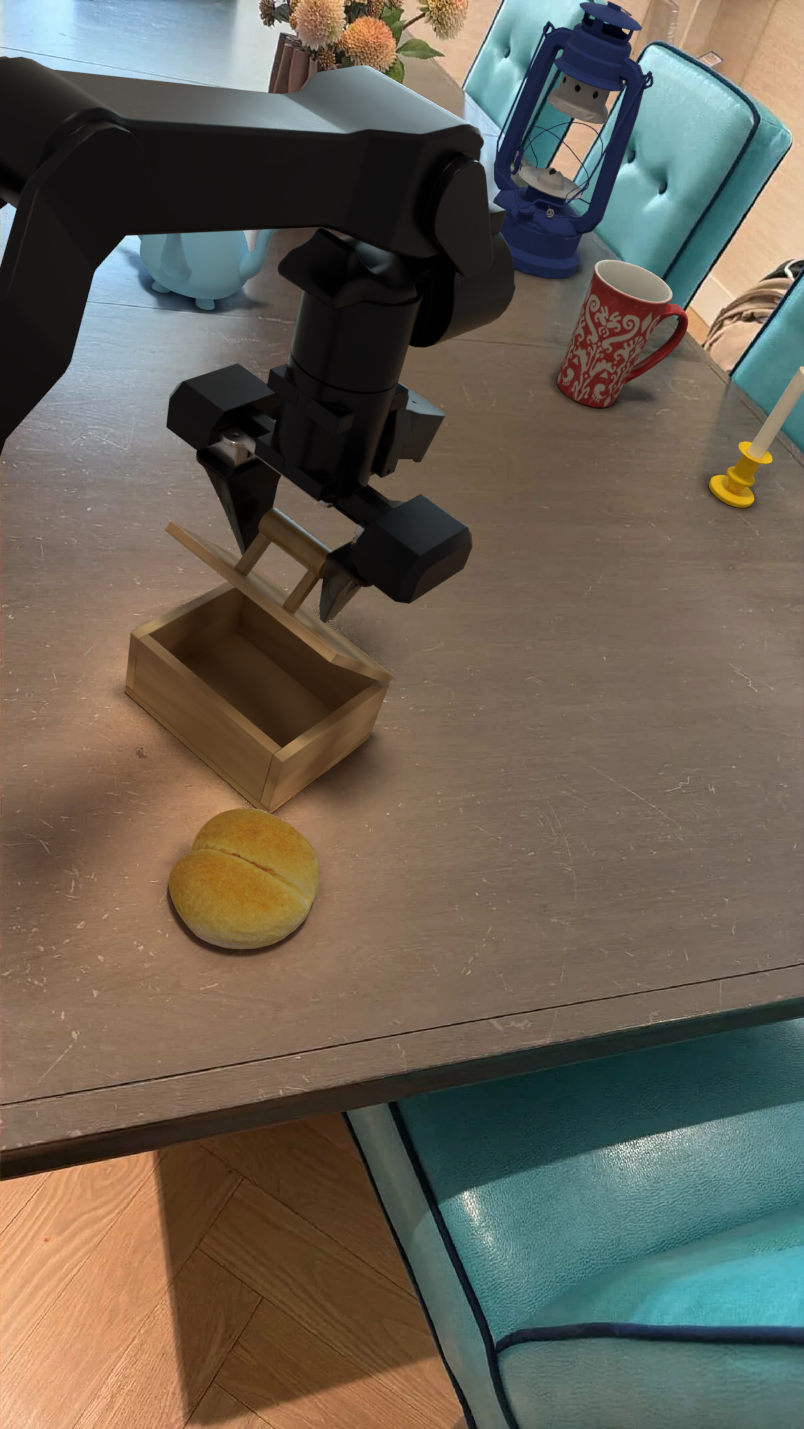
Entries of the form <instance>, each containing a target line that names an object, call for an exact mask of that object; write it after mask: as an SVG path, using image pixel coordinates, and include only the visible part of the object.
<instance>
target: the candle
mask: <svg viewBox="0 0 804 1429" xmlns="http://www.w3.org/2000/svg"><path fill="white" fill-rule="evenodd" d="M803 393H804V366H803V365H802V366H800V367H798V369H797V371H796V373H795V374H794V375H793V377H792V379H791V380H790V382H789V383H788V385H787V386H786V388H785V389H784V391H783V393H782V395H781V396H780V397H779V399H778V400H777V402H776V404H775V406H774V407H773V409H772V410H771V412H770V414H769V415H768V416H767V418H766V420H765V422H764V423H763V425H762V426H761V428H760V430H759V431H758V433H757V435H756V436H755V438H754V439H753V441H745V440H744V441H741V442H739V444H738V450H739V452H740V453H741V457H740V458H738V460H737V462H736V465H732V466H729V467H728V468H727V470H726V472H725V473H726V475H725V474H718V475H714V476H712V477H711V478H710V480H709V481H708V488H709V490H710V492H711V493H712V495H713V496H715V497H716V499H718V500H719V501H721V502H723V503H725V504H727V505H728V506H731V507H734V508H738V509H746V508H749V507H751V506H752V505H753V503H754V501H755V495H754V493H753V490H751V487H752V486H754V484H755V483H756V479H755V476H754V475H755V474H756V473H757V471H758V469H759V466H761V465H769V464H771V463H772V462H773V456H772V454H771V453H770V452H769V451H768V449H769V448H770V446H771V445H772V443H773V441H774V439H775V438H776V436H777V435H778V433H779V431H780V430H781V428H782V427H783V425H784V424H785V421H786V420H787V419H788V417H789V416H790V414H791V412H792V410H793V409H794V408H795V406H796V404H797V403H798V401H799V399H800V398H801V396H802V394H803ZM728 485H729V486H730V487H729V486H728ZM736 490H739V491H736Z"/></svg>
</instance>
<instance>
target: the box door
mask: <svg viewBox="0 0 804 1429" xmlns="http://www.w3.org/2000/svg"><path fill="white" fill-rule="evenodd" d="M164 530H165V532H166V533H167V534H168V535H170V536H171V537H173V539H175V540H176V541H177V542H179V543H180V544H181V545H182V546H183V547H185V548H186V549H188V550H189V552H191V553H192V554H194V555H195V557H197V558H198V559H200V560H201V561H202V562H204V564H206V565H207V566H208V567H210V568H211V569H212V570H214V572H216V573H217V574H218V575H220V576H221V577H222V578H224V580H226V582H228V581H229V582H230V583H231V584H232V585H234V586H235V587H236V588H237V589H239V590H240V591H241V592H242V593H244V594H245V595H246V596H247V597H249V598H250V599H251V600H252V601H253V602H255V603H256V604H257V605H258V606H260V607H261V608H262V609H263V610H265V611H266V612H267V613H268V614H270V615H271V616H272V617H273V618H275V619H276V620H277V621H278V622H280V623H281V624H282V625H283V626H285V627H286V628H287V629H288V630H290V631H291V632H292V633H293V634H295V635H296V636H297V637H298V638H300V639H301V640H302V641H303V642H305V643H306V644H307V645H308V646H310V647H311V648H312V649H313V650H315V651H316V652H317V653H318V654H319V655H321V656H322V657H323V658H324V659H326V660H327V661H328V662H330V663H332V664H335V665H338V666H340V667H343V668H346V669H349V670H351V671H354V672H357V673H359V674H362V675H365V676H367V677H370V678H373V679H376V680H378V681H381V682H384V683H386V684H389V685H390V683H391V681H392V680H393V679H394V677H395V675H394V674H393V673H391V672H389V671H388V670H387V669H386V668H385V667H384V666H382V665H381V664H380V663H379V662H377V661H376V660H374V659H373V658H372V657H370V656H369V655H368V654H367V653H365V651H363V650H362V649H360V648H359V647H358V646H357V645H356V644H354V643H353V642H352V641H350V639H348V638H346V637H345V636H344V635H343V634H342V633H340V632H339V631H337V630H336V629H335V628H334V627H333V626H331V624H329V623H328V622H326V623H324V622H322V621H321V620H320V615H317V614H316V613H315V612H314V611H312V610H311V609H310V608H308V607H307V606H306V605H305V604H304V601H305V600H306V599H307V597H308V596H309V594H310V593H311V592H312V591H313V590H314V588H315V586H316V585H317V584H318V583H319V581H320V580H323V573H324V566H325V558H326V554H328V553H330V552H332V551H334V549H332V548H331V547H330V546H328V545H327V544H325V543H324V542H323V541H322V540H320V539H319V538H317V537H316V536H315V535H314V534H312V533H311V532H309V530H307V529H305V528H304V527H303V526H302V525H300V524H299V523H298V522H296V521H295V520H294V519H292V518H291V517H290V516H289V515H288V514H286V513H285V512H283V511H282V510H280V508H278V507H273V508H272V509H270V510H268V511H267V512H266V513H265V514H264V515H263V517H262V518H261V520H260V522H259V525H258V530H259V534H258V535H257V537H256V538H255V539H254V541H253V542H252V544H251V545H250V546H249V548H248V549H247V551H246V552H245V553H244V555H243V556H242V555H241V557H240V556H238V555H237V554H235V553H233V552H231V551H229V550H227V549H226V548H223V547H222V546H220V545H218V544H216V543H214V542H212V541H210V540H208V539H207V538H204V537H203V536H201V535H199V534H196V533H195V532H193V531H191V530H189V529H187V528H186V527H183V526H182V525H180V524H178V523H177V522H175V521H170V522H169V523H168V524H167V526H166V527H165V529H164ZM271 543H273V544H274V545H275V546H277V547H278V548H280V550H282V551H283V552H284V553H285V554H287V555H288V556H290V557H291V558H292V559H293V560H295V562H297V563H299V565H301V566H302V567H303V568H305V569H306V570H307V571H306V572H305V573H304V574H303V576H302V578H301V579H300V581H299V582H298V584H297V585H296V586H295V587H294V588H293V590H292V591H291V593H290V592H288V591H287V590H286V589H285V588H283V587H282V586H280V585H279V584H278V583H277V582H275V581H274V580H273V579H272V578H270V577H269V576H268V575H267V574H266V573H264V572H263V571H261V570H260V569H259V568H258V567H256V564H257V563H258V562H259V560H260V559H261V558H262V556H263V555H264V553H265V552H266V550H267V549H268V548H269V546H270V545H271Z"/></svg>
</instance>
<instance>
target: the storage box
mask: <svg viewBox="0 0 804 1429" xmlns="http://www.w3.org/2000/svg"><path fill="white" fill-rule="evenodd" d="M129 636H130V637H129V646H128V654H127V666H126V676H125V686H124V693H125V694H126V695H128V696H129V698H131V699H132V700H133V701H134V702H135V703H136V704H138V705H139V706H140V707H141V708H142V709H143V710H145V711H146V712H147V713H148V714H149V715H150V716H151V717H153V719H155V720H156V721H157V722H158V723H159V724H160V725H161V726H163V727H164V728H165V729H166V730H167V731H168V732H170V734H172V736H174V737H175V738H176V739H177V740H179V741H180V742H181V743H182V744H183V745H184V746H185V747H186V748H188V749H189V750H190V751H191V752H192V753H193V754H194V755H196V756H197V758H199V759H200V760H201V761H202V762H204V763H205V764H206V765H207V766H208V767H209V768H210V769H211V770H213V771H214V772H215V773H216V774H217V775H218V776H219V777H221V778H222V780H224V781H225V782H226V783H227V784H228V785H230V786H231V787H232V788H233V789H234V790H235V791H236V792H237V793H239V795H240V796H242V797H243V798H244V799H245V800H247V801H248V802H249V803H250V804H251V805H252V806H253V807H254V808H255V809H259V810H264V811H266V812H268V813H270V814H273V813H274V812H275V811H276V810H278V809H279V808H280V807H281V806H283V805H284V804H285V803H287V802H288V801H289V800H291V799H292V798H294V797H295V796H296V795H297V794H299V793H300V792H301V791H303V790H304V789H305V788H306V787H308V786H309V785H310V784H312V783H313V782H314V781H316V780H317V779H318V778H319V777H321V776H322V775H323V774H325V773H327V771H329V770H330V769H331V768H333V767H334V766H335V765H336V764H338V763H339V762H340V761H342V760H343V759H344V758H346V757H347V756H348V755H350V754H351V753H352V752H353V751H356V749H357V748H359V747H360V746H361V745H363V744H364V743H365V742H367V741H368V740H369V739H370V736H371V734H372V731H373V729H374V727H375V723H376V721H377V719H378V716H379V714H380V711H381V708H382V705H383V702H384V701H385V697H386V695H387V692H388V689H389V687H390V683H389V684H386V683H384V682H381V681H378V680H376V679H373V678H370V677H367V676H365V675H362V674H359V673H357V672H354V671H351V670H349V669H346V668H343V667H340V666H338V665H335V664H332V663H330V662H328V661H327V660H326V659H324V658H323V657H322V656H321V655H319V654H318V653H317V652H316V651H315V650H313V649H312V648H311V647H310V646H308V645H307V644H306V643H305V642H303V641H302V640H301V639H300V638H298V637H297V636H296V635H295V634H293V633H292V632H291V631H290V630H288V629H287V628H286V627H285V626H283V625H282V624H281V623H280V622H278V621H277V620H276V619H275V618H273V617H272V616H271V615H270V614H268V613H267V612H266V611H265V610H263V609H262V608H261V607H260V606H258V605H257V604H256V603H255V602H253V601H252V600H251V599H250V598H249V597H247V596H246V595H245V594H244V593H242V592H241V591H240V590H239V589H237V588H236V587H235V586H234V585H232V584H231V583H230V582H229V581H226V582H223V583H222V584H220V585H218V586H216V587H214V588H212V589H210V590H209V591H206V592H204V593H203V594H201V595H199V596H197V597H195V598H193V599H191V600H189V601H187V602H186V603H184V604H182V605H180V606H177V607H176V608H174V609H172V610H170V611H168V612H166V613H165V614H163V615H161V616H158V617H157V618H155V619H153V620H150V621H149V622H147V623H145V624H143V625H142V626H140V627H138V628H135V629H134V630H132V631H130V634H129Z"/></svg>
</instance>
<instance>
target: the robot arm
mask: <svg viewBox="0 0 804 1429" xmlns="http://www.w3.org/2000/svg"><path fill="white" fill-rule="evenodd" d="M484 146H485V138H484V134H483V133H482V131H481V130H480V128H479V127H477V126H476V125H474V124H472V123H470V122H468V121H467V120H465V119H463V118H462V117H460V116H459V115H456V114H455V113H452V112H451V111H449V110H448V109H446V108H444V107H442V106H440V105H438V104H437V103H435V102H433V101H431V100H430V99H428V98H426V97H424V96H423V95H422V94H419V93H417V92H415V91H414V90H413V89H411V88H408V87H407V86H405V85H403V84H401V83H400V82H398V81H397V80H394V79H393V78H391V77H390V76H388V75H386V74H384V73H382V72H380V71H378V69H375V68H374V67H371V66H370V65H365V64H363V65H362V64H361V65H360V64H359V65H354V66H353V65H352V66H347V67H340V68H335V69H329V70H323V71H322V70H321V71H317V72H315V73H313V74H312V75H310V76H309V77H307V79H306V81H305V82H304V84H303V85H302V86H301V88H300V89H299V90H297V91H289V92H286V93H285V92H284V93H274V92H266V91H257V90H247V89H239V88H238V89H237V88H230V87H229V88H228V87H220V86H212V85H211V86H209V85H203V84H202V85H201V84H192V83H182V82H173V81H164V80H156V79H145V78H137V77H126V76H117V75H109V74H99V73H90V72H82V71H81V72H80V71H71V70H61V69H53V68H51V67H48V66H45V65H43V64H41V62H38V61H36V60H34V59H33V58H28V57H24V56H15V57H13V56H12V57H9V56H7V55H3V56H0V210H2V209H3V208H5V207H6V206H7V205H8V204H9V205H10V206H12V207H13V208H15V213H14V217H13V220H12V223H11V227H10V231H9V233H8V238H7V240H6V244H5V249H4V252H3V254H2V258H1V262H0V457H1V456H2V454H3V451H4V448H5V444H6V441H7V439H8V438H9V437H10V436H11V435H12V434H13V433H14V431H15V430H16V429H17V428H18V427H19V426H20V425H21V423H22V422H23V421H24V420H25V419H26V418H27V417H28V415H29V414H31V412H32V411H33V410H34V409H35V407H36V406H37V405H38V404H39V403H40V402H41V401H42V399H44V397H45V396H46V395H47V394H48V393H49V392H50V390H51V389H52V388H53V387H54V386H55V385H56V384H57V383H58V381H59V380H60V379H61V378H62V377H63V376H64V375H65V374H66V372H67V370H68V368H69V366H70V365H71V363H72V359H73V356H74V352H75V348H76V345H77V340H78V337H79V333H80V330H81V326H82V322H83V318H84V314H85V311H86V307H87V303H88V299H89V295H90V291H91V287H92V284H93V279H94V275H95V274H96V271H97V269H98V268H99V267H100V266H101V265H102V264H103V263H104V261H105V260H106V259H107V258H108V257H109V256H110V255H111V254H112V252H113V251H114V250H115V249H116V248H117V247H118V246H119V245H120V243H121V242H123V240H124V239H125V238H126V237H128V236H133V237H134V236H137V235H155V234H177V233H200V232H222V231H243V232H244V231H261V230H267V229H280V230H286V229H287V230H288V229H307V228H310V229H311V228H317V229H315V231H314V233H313V234H312V235H311V237H309V239H307V240H306V241H305V242H302V244H299V245H298V246H295V247H293V248H292V249H290V250H288V252H287V253H286V254H285V256H284V257H283V258H281V259H280V261H279V263H278V265H277V273H278V275H279V276H281V277H282V278H284V279H285V280H286V281H288V282H289V283H291V284H293V285H294V286H295V287H297V288H298V289H300V290H301V294H300V295H301V296H300V301H299V304H298V309H297V310H298V311H297V313H296V314H297V315H296V319H295V324H294V328H293V335H292V339H291V344H290V349H289V353H288V359H287V363H284V364H281V365H278V366H275V367H272V368H270V369H269V372H268V378H267V382H266V381H265V380H263V379H261V378H260V377H259V376H257V375H256V374H255V373H254V372H252V371H250V370H249V369H248V368H246V367H245V366H244V365H242V364H240V363H239V362H237V363H234V364H230V365H227V366H225V367H222V368H218V369H216V370H213V371H210V372H207V373H203V374H201V375H197V376H194V377H192V378H187V379H185V380H182V381H180V382H179V383H177V384H176V386H175V387H174V388H173V390H172V391H171V392H170V394H169V396H168V405H167V414H166V424H165V426H166V428H167V429H168V430H169V431H171V432H172V433H173V434H174V435H176V437H179V438H180V439H181V440H182V441H183V442H185V443H186V444H188V445H189V447H191V448H193V449H194V450H195V451H196V452H195V460H196V462H197V463H198V464H199V465H200V466H201V467H202V468H203V469H204V470H205V472H206V475H207V476H208V479H209V481H210V483H211V485H212V487H213V489H214V491H215V493H216V496H217V498H218V500H219V502H220V504H221V507H222V508H223V512H224V514H225V516H226V518H227V520H228V523H229V526H230V528H231V531H232V533H233V536H234V538H235V541H236V544H237V546H238V549H239V551H240V554H241V557H242V556H243V555H244V553H245V552H246V551H247V549H248V548H249V546H250V545H251V544H252V542H253V541H254V539H255V538H256V537H257V535H258V534H259V530H258V525H259V522H260V520H261V518H262V517H263V515H264V514H265V513H266V512H267V511H268V510H270V509H272V508H274V503H275V499H276V495H277V490H278V486H279V482H280V479H281V477H283V478H284V479H286V480H287V481H288V482H290V483H291V484H292V485H294V486H295V487H296V488H298V489H299V490H300V491H302V492H303V493H305V494H306V495H307V496H309V497H310V498H311V499H313V500H314V501H315V502H317V504H319V505H320V506H322V507H323V508H325V509H331V508H334V509H335V510H337V511H338V512H339V513H341V514H342V515H343V516H345V518H347V519H349V520H350V521H351V522H352V523H354V524H356V525H355V529H354V533H353V535H354V537H352V540H350V541H348V542H346V543H344V544H343V545H341V546H339V547H337V548H336V549H333V551H332V552H330V553H328V554H326V558H325V566H324V573H323V579H322V581H321V582H322V583H321V591H320V598H319V607H318V608H319V609H318V610H319V611H318V612H319V617H320V620H321V621H322V622H324V623H328V622H330V621H331V620H333V619H335V617H337V615H339V613H340V612H341V611H342V610H343V609H344V608H345V607H346V605H348V604H349V602H350V601H351V600H352V599H353V598H354V597H355V595H356V594H357V593H358V592H359V591H360V590H361V589H362V588H371V587H375V588H376V589H378V590H379V591H380V592H382V593H383V594H384V595H385V596H387V597H388V598H389V599H391V600H392V601H393V602H395V603H400V604H406V605H407V604H408V605H410V604H412V603H413V602H415V601H417V600H418V599H419V598H421V597H422V596H424V595H425V594H427V593H429V592H430V591H432V590H433V589H435V588H436V587H438V586H440V585H441V584H443V583H444V582H446V581H447V580H449V579H450V578H452V577H453V576H455V575H457V574H458V573H460V572H461V571H463V570H464V569H465V566H466V564H467V562H468V559H469V557H470V554H471V552H472V549H473V547H474V546H473V534H472V533H471V531H470V529H469V526H467V525H466V524H464V523H463V522H461V521H460V520H458V519H457V518H455V517H454V515H453V516H452V514H450V513H449V512H447V511H446V510H444V509H443V508H441V507H440V506H439V505H437V504H436V503H435V502H433V501H432V500H430V499H429V498H427V497H426V496H425V495H424V494H422V493H420V494H418V495H416V496H414V497H413V498H411V499H409V500H407V501H402V500H392V499H389V498H388V497H387V496H385V495H383V494H382V493H381V492H379V491H378V490H377V489H375V488H374V487H373V486H371V485H370V484H369V482H370V478H371V477H372V476H374V475H376V476H378V477H379V478H380V479H383V478H385V477H387V476H389V475H391V474H393V473H395V472H396V468H397V465H398V462H399V460H412V461H413V462H414V463H418V464H419V463H422V461H423V459H424V457H425V455H426V453H427V451H428V450H429V448H430V446H431V444H432V442H433V441H434V439H435V436H436V434H437V432H438V431H439V429H440V427H441V425H442V423H443V421H444V419H445V417H446V413H444V412H443V411H442V410H441V409H440V408H438V406H436V405H434V404H433V403H431V402H429V401H428V400H427V399H425V398H424V397H422V396H421V395H420V394H418V393H416V392H415V391H414V390H412V389H411V388H409V387H408V386H406V385H405V384H403V383H402V382H401V381H399V380H400V376H401V373H402V369H403V366H404V363H405V360H406V357H407V353H408V350H409V346H410V347H412V348H422V349H423V348H424V349H425V348H430V347H433V346H436V345H438V344H441V343H443V342H446V341H448V340H451V339H453V338H456V337H459V336H461V335H464V334H466V333H469V332H471V331H474V330H477V329H479V328H482V327H484V326H487V325H489V324H491V323H493V322H494V321H496V320H498V319H499V318H500V317H502V315H503V314H504V313H505V312H506V311H507V310H508V308H509V306H510V304H511V302H512V300H513V299H514V298H513V297H514V295H515V291H516V284H515V277H516V271H515V269H514V263H513V258H512V255H511V252H510V249H509V246H508V244H507V242H506V241H505V239H504V237H503V235H502V234H501V233H500V231H501V228H502V225H503V222H504V219H505V216H506V210H504V209H503V208H501V207H499V206H498V205H496V204H494V203H493V201H491V200H490V199H489V193H488V192H489V191H488V180H487V172H486V168H485V166H484V165H483V164H482V163H481V155H482V154H481V153H482V151H481V149H482V148H483V147H484ZM329 230H332V231H335V232H338V233H340V234H343V235H342V236H341V235H340V236H337V235H336V234H334V233H333V232H331V231H329Z"/></svg>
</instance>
